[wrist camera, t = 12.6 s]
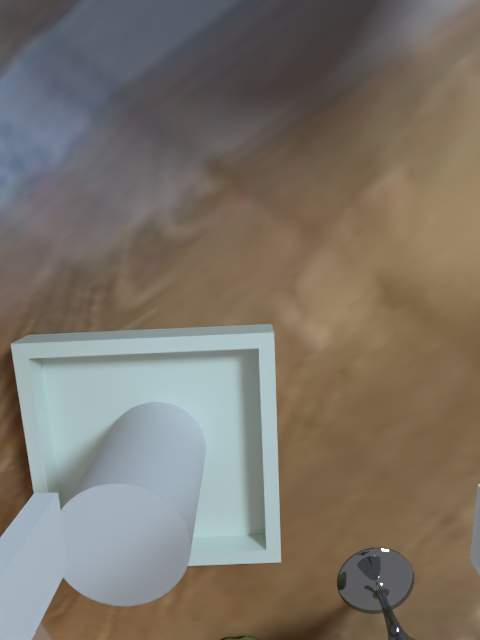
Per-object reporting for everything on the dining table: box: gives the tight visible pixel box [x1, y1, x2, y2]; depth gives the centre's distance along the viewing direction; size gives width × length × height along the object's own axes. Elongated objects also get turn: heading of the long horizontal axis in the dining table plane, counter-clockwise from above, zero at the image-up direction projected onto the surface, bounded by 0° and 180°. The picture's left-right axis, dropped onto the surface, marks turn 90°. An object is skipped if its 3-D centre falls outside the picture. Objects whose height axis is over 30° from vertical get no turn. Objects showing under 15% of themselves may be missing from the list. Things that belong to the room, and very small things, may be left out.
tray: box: [11, 324, 281, 566], centre depth 37 cm, size 20×20×3 cm
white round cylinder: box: [61, 402, 206, 606], centre depth 32 cm, size 8×8×12 cm
